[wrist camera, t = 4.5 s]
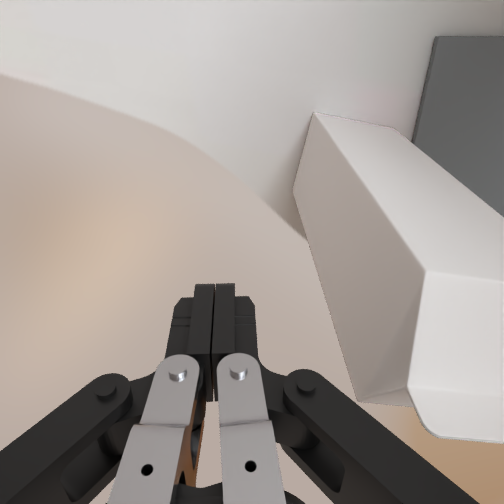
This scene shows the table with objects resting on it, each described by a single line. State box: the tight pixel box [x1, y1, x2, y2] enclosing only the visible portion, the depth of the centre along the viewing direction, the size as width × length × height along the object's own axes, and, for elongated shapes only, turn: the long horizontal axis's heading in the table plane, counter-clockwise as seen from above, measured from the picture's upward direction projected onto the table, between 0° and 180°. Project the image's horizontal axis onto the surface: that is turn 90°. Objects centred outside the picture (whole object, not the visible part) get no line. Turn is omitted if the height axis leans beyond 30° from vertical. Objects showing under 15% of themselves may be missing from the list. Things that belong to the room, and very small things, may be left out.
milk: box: [292, 112, 504, 444], centre depth 20 cm, size 6×6×22 cm
